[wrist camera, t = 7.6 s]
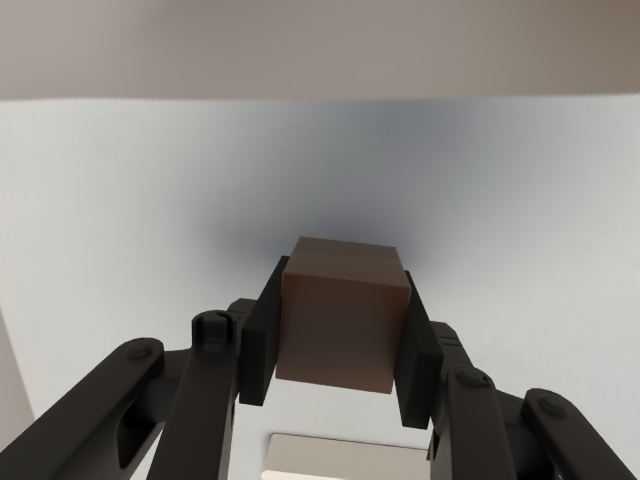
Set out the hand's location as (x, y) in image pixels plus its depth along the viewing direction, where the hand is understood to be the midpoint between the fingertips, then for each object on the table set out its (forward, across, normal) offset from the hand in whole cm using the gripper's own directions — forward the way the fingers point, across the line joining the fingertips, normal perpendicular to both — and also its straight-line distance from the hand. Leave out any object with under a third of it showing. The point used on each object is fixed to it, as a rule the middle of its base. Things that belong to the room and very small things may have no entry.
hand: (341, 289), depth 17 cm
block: (0, 0, 0) cm, 0 cm away
